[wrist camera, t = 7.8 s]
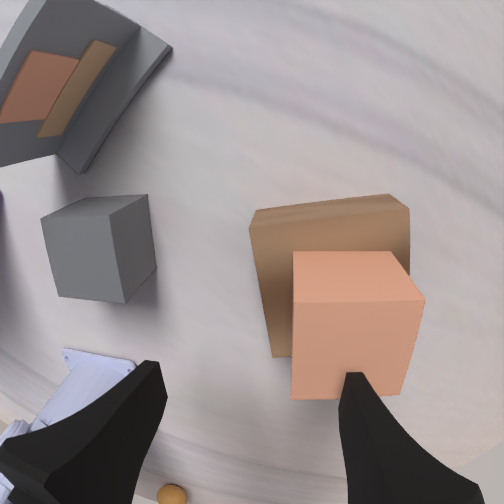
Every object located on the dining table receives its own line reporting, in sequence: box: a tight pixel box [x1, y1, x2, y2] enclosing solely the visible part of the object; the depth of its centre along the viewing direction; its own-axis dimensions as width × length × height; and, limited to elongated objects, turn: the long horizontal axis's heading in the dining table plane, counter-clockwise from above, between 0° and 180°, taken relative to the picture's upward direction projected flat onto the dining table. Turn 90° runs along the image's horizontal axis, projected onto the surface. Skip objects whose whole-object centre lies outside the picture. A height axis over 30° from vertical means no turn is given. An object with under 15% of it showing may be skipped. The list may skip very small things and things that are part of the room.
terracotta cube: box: [291, 251, 425, 400], centre depth 14 cm, size 5×5×5 cm
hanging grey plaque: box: [0, 0, 173, 175], centre depth 13 cm, size 6×10×9 cm, turn 139°
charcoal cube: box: [41, 194, 157, 303], centre depth 18 cm, size 5×5×5 cm
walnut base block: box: [249, 194, 410, 358], centre depth 18 cm, size 8×8×4 cm
